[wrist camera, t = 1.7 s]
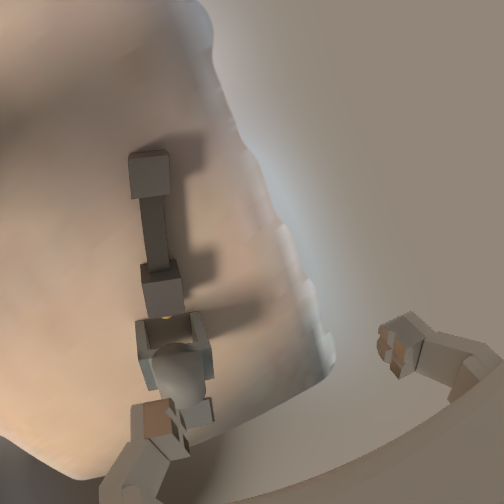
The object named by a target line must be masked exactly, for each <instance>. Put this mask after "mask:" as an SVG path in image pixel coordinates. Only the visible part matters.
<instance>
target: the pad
mask: <svg viewBox="0 0 504 504" xmlns="http://www.w3.org/2000/svg"><path fill="white" fill-rule="evenodd" d="M179 411H180V412H181V414H182V416H183V418H184V421H185V425H186V429H189V428H194V427H199V426H203V425H208V424H213V421H212V415H211V408H210V401H209V398H205V399H203V400H202V401H201V402H200V403H199V404H198V405H196V406H194V407H192V408H188V409H179Z"/></svg>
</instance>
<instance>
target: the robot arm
mask: <svg viewBox="0 0 504 504" xmlns="http://www.w3.org/2000/svg"><path fill="white" fill-rule="evenodd" d="M378 333H379V334H380V338H379V339H378V341H377V350H378V353H379V355H380V357H381V358H382V360H383V361H384V362H386V363H389V364H390V370H391V371H392V372H393V373H394V374H395V376H396V377H397V378H398V379H401V378H403V377H405V376H407V375H409V374H411V373H412V372H414V371H416V372H417V373H419V374H421V375H424V376H426V377H429V378H431V379H433V380H435V381H438V382H440V383H442V384H445V385H447V386H449V387H452V389H451V391H450V393H449V395H448V398H447V400H448V401H449V402H450V403H451V404H449V405H448V406H447V407H445V408H444V409H442V410H441V411H439V412H438V413H436V414H435V415H433V416H432V417H430V418H429V419H427V420H426V421H424V422H423V423H421V424H419V425H418V426H416V427H415V428H413V429H411V430H410V431H408V432H406V433H405V434H403V435H401V436H399V437H398V438H396V439H394V440H393V441H390V442H389V443H387V444H385V445H383V446H381V447H379V448H377V449H376V450H373V451H372V452H370V453H368V454H366V455H363V456H361V457H359V458H358V459H355V460H353V461H351V462H349V463H346V464H344V465H342V466H340V467H337V468H335V469H333V470H331V471H328V472H326V473H323V474H321V475H318V476H316V477H313V478H311V479H308V480H305V481H302V482H300V483H297V484H294V485H291V486H288V487H285V488H282V489H279V490H276V491H272V492H269V493H265V494H262V495H259V496H255V497H251V498H248V499H243V500H240V501H235V502H231V503H227V504H504V360H503V359H502V358H501V357H500V356H498V355H497V354H496V353H495V352H494V351H493V350H492V349H491V348H490V347H489V346H488V345H487V344H485V343H482V342H478V341H473V340H470V339H465V338H462V337H458V336H454V335H450V334H447V333H443V332H437V333H436V332H435V331H434V330H432V329H431V328H430V327H429V326H428V325H427V324H426V323H425V322H424V321H423V320H422V319H421V318H419V317H418V316H417V315H416V314H415V313H414V312H412V311H409V312H407V313H405V314H403V315H401V316H399V317H397V318H395V319H393V320H390V321H388V322H386V323H384V324H382V325H380V327H379V329H378ZM130 429H131V442H127V443H126V445H125V447H124V448H123V450H122V451H121V453H120V454H119V456H118V458H117V459H116V461H115V462H114V464H113V466H112V467H111V469H110V470H109V472H108V473H107V475H106V477H105V478H104V480H103V482H102V483H101V485H100V486H99V504H163V503H161V502H160V501H158V500H157V499H155V497H156V495H157V492H158V490H159V488H160V485H161V483H162V481H163V478H164V476H165V473H166V471H167V468H168V466H169V463H170V461H171V460H176V459H181V458H185V457H189V456H191V453H190V447H189V442H188V440H187V439H186V438H185V434H186V433H187V430H186V425H185V421H184V418H183V416H182V414H181V412H180V411H179V409H176V408H175V403H174V401H173V400H172V399H171V398H166V399H161V400H156V401H151V402H145V403H140V404H135V405H132V406H131V409H130Z"/></svg>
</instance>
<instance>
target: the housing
mask: <svg viewBox="0 0 504 504" xmlns="http://www.w3.org/2000/svg"><path fill="white" fill-rule="evenodd" d="M190 321H191V329H192V336H193V343H187V344H185V343H172V344H168V345H165V346H163V347H161V348H159V349H152V350H151V348H150V344H149V340H148V336H147V332H146V328H145V324H144V320H142V321H135V329H136V341H137V352H138V361H139V364H140V367H141V370H142V373H143V376H144V379H145V382H146V385H147V388H148V390H149V391H150V390H156V389H159V391H160V395H161V397H162V399H166V398H171V399H172V400H173V401H174V403H175V408H176V409H188V408H192V407H194V406H196V405H198V404H199V403H200V402H201V401H202V400H203V399H204V397H205V394H206V386H205V380H210V379H214V370H213V360H212V349H211V345H210V343H209V340H208V337H207V334H206V332H205V329H204V326H203V323H202V320H201V318H200V315H199V312H198V311H197V312H191V313H190Z"/></svg>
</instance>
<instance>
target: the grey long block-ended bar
mask: <svg viewBox="0 0 504 504" xmlns="http://www.w3.org/2000/svg"><path fill="white" fill-rule="evenodd" d="M128 167H129V179H130V189H131V198H132V199H137V198H139V201H140V210H141V219H142V227H143V235H144V242H145V249H146V256H147V263H148V264H142V265H140V269H141V282H142V288H143V293H144V298H145V303H146V308H147V313H148V317H149V319H155V318H163V319H168V318H171V317H172V316H173V315H179V314H185V306H184V298H183V290H182V281H181V276H180V272H179V269H178V266H177V262H176V260H169V256H168V247H167V238H166V228H165V218H164V206H163V195H169V194H171V188H170V171H169V155H168V153H167V151H166V150H157V151H148V152H139V153H131V154H129V157H128Z"/></svg>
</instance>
